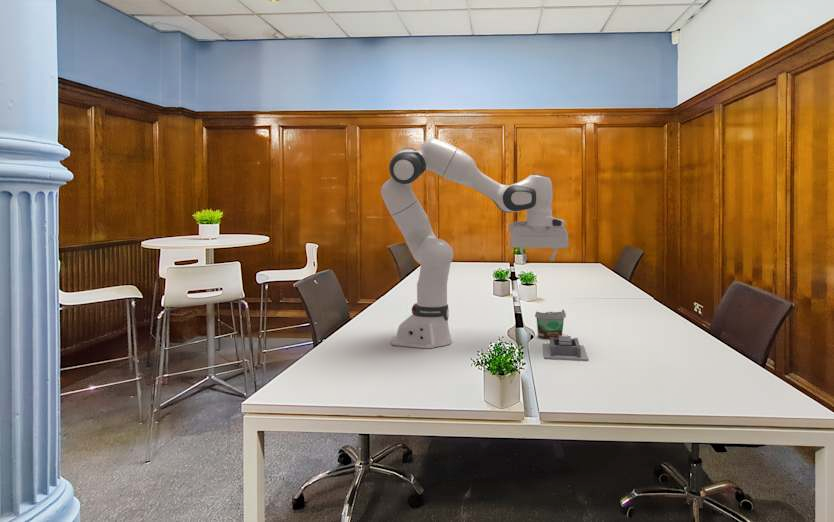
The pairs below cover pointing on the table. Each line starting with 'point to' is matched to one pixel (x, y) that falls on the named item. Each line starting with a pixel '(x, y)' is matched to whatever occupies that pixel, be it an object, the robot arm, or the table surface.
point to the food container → (550, 324)
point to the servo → (564, 340)
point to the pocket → (564, 351)
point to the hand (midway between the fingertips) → (538, 260)
